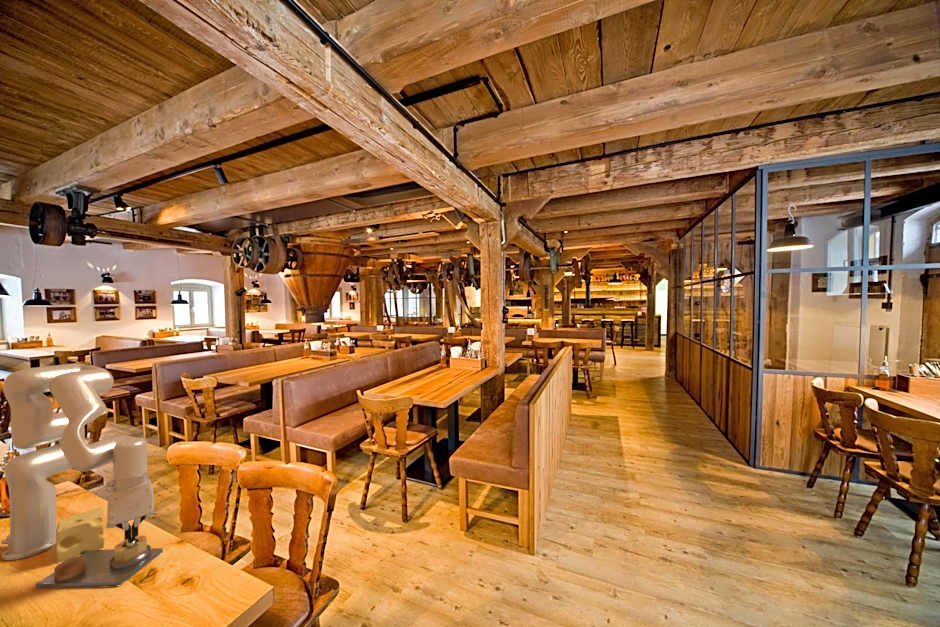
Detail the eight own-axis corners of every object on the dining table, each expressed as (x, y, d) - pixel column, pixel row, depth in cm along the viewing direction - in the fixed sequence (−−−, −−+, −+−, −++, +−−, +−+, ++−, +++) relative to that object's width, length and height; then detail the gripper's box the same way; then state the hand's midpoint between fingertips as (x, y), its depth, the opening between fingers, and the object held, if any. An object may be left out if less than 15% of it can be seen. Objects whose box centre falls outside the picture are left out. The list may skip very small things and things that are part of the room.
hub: (100, 574, 102) (100, 550, 102) (129, 553, 111) (129, 530, 111) (132, 573, 102) (132, 549, 102) (158, 552, 111) (158, 530, 111)
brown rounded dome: (47, 586, 97) (47, 571, 97) (71, 570, 103) (71, 556, 103) (69, 585, 98) (69, 570, 98) (92, 569, 104) (92, 555, 104)
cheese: (104, 547, 113) (104, 517, 113) (53, 565, 106) (53, 532, 106) (104, 534, 121) (104, 505, 121) (56, 549, 113) (56, 519, 113)
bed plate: (35, 588, 97) (35, 584, 97) (89, 553, 111) (89, 550, 111) (119, 586, 97) (119, 582, 97) (162, 551, 111) (162, 548, 111)
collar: (114, 566, 101) (114, 554, 101) (114, 554, 106) (114, 543, 106) (147, 553, 106) (147, 542, 106) (145, 543, 111) (145, 532, 111)
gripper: (94, 494, 98) (95, 558, 98) (164, 475, 109) (165, 533, 109) (95, 485, 103) (96, 546, 103) (161, 468, 114) (162, 523, 114)
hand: (131, 539), depth 106 cm, fingers closed
